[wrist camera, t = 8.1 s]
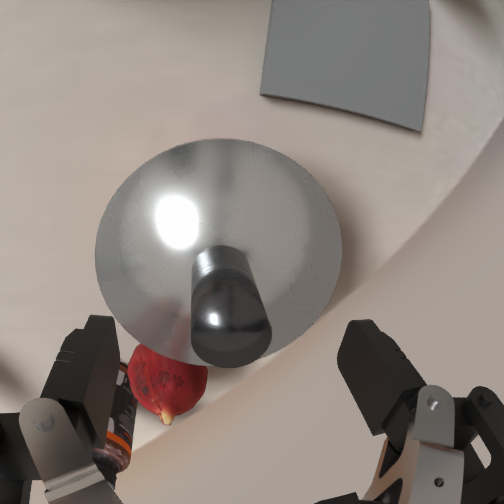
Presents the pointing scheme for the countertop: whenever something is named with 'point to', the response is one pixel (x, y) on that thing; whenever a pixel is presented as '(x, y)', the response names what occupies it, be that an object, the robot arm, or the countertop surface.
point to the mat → (351, 56)
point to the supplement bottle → (118, 431)
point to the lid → (218, 252)
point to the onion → (165, 383)
